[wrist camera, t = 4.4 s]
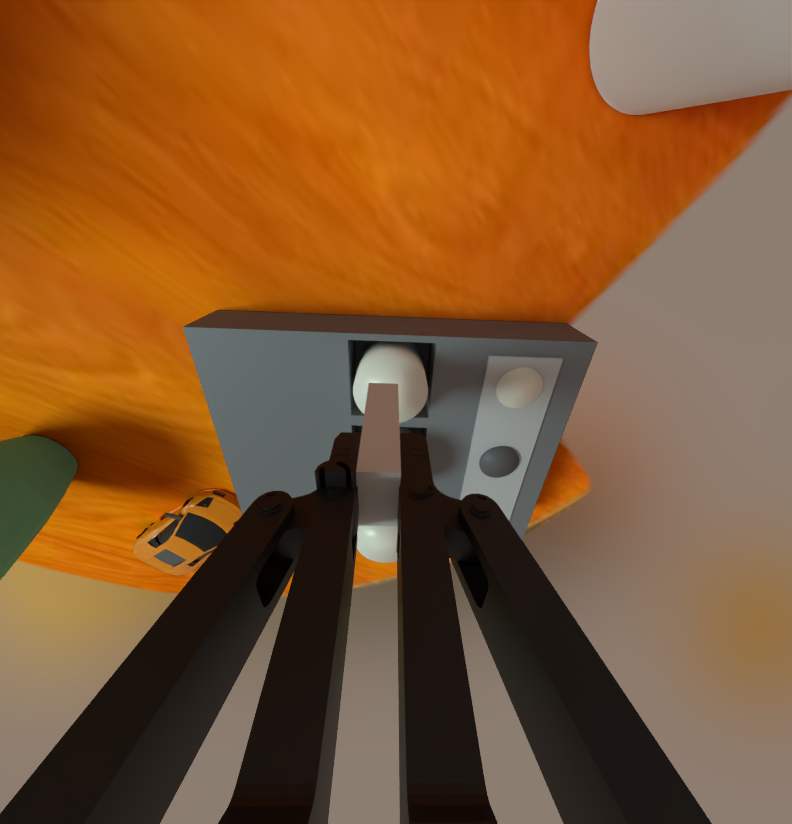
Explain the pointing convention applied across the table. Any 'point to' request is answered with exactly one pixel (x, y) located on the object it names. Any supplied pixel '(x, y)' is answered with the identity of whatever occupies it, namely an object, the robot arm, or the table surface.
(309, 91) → the table surface
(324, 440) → the console
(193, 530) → the toy car
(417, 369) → the button
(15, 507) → the mug
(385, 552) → the button
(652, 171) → the table surface
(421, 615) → the robot arm
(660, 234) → the table surface
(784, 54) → the cup
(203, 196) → the table surface
